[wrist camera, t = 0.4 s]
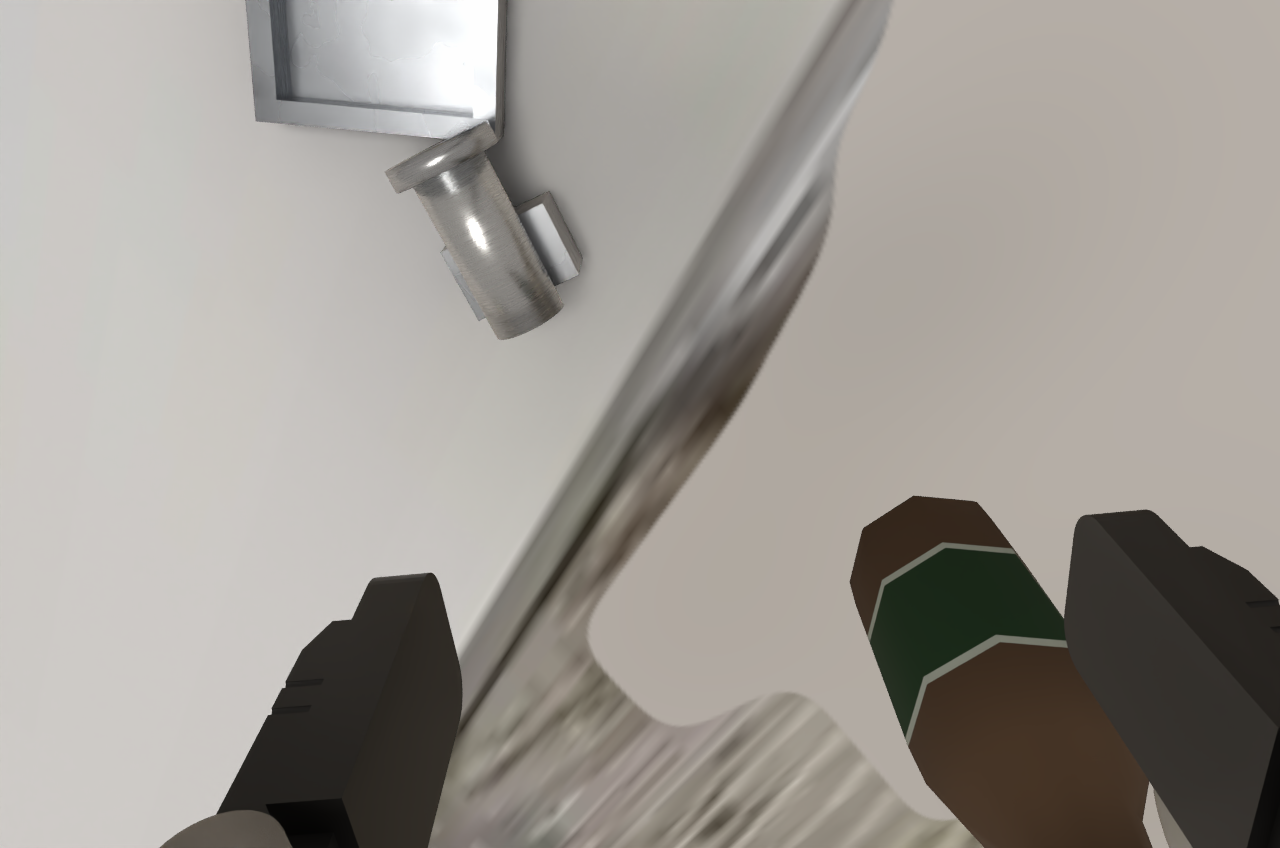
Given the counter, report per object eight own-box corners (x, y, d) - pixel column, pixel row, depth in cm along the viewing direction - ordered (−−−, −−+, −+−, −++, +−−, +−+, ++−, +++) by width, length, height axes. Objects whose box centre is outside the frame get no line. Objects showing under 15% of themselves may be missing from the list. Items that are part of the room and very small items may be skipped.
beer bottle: (829, 511, 42) (1040, 1054, 20) (996, 468, 41) (1409, 990, 19) (860, 639, 45) (1071, 1231, 23) (1016, 603, 44) (1389, 1183, 22)
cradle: (260, -148, 31) (231, -160, 29) (510, -121, 31) (500, -132, 29) (280, 114, 34) (255, 121, 32) (503, 135, 35) (494, 143, 32)
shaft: (408, 156, 35) (365, 182, 29) (507, 106, 34) (482, 124, 29) (494, 312, 38) (470, 362, 32) (588, 269, 37) (579, 313, 31)
